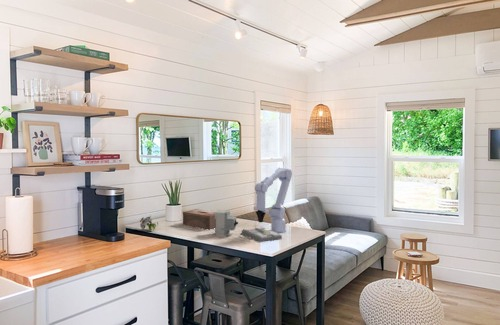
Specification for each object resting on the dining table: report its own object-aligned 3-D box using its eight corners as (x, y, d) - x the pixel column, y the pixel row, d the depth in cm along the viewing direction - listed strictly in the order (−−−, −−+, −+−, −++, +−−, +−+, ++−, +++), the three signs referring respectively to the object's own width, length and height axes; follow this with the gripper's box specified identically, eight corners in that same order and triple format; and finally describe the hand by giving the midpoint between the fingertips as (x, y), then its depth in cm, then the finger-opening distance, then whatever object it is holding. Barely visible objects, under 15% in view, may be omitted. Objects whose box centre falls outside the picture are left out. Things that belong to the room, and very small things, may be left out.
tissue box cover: (222, 226, 278) (223, 213, 278) (209, 230, 267) (209, 216, 266) (196, 222, 293) (196, 209, 293) (182, 225, 281) (182, 211, 281)
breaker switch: (267, 234, 248) (267, 228, 248) (270, 235, 245) (270, 229, 245) (263, 234, 246) (263, 229, 246) (266, 235, 243) (266, 230, 243)
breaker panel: (261, 230, 266) (262, 226, 266) (281, 238, 245) (281, 233, 245) (241, 233, 258) (241, 228, 258) (260, 241, 237) (260, 236, 237)
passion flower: (142, 238, 263) (136, 222, 266) (157, 233, 269) (150, 218, 273) (146, 231, 254) (139, 216, 258) (161, 226, 261) (154, 211, 264)
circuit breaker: (235, 236, 250) (236, 213, 249) (214, 234, 253) (215, 212, 252) (238, 233, 257) (238, 211, 256) (218, 232, 260) (218, 210, 259)
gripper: (250, 200, 256) (249, 220, 257) (261, 203, 243) (261, 225, 244) (259, 199, 259) (258, 219, 260) (270, 202, 247) (270, 223, 248)
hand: (260, 222), depth 252 cm, fingers closed
